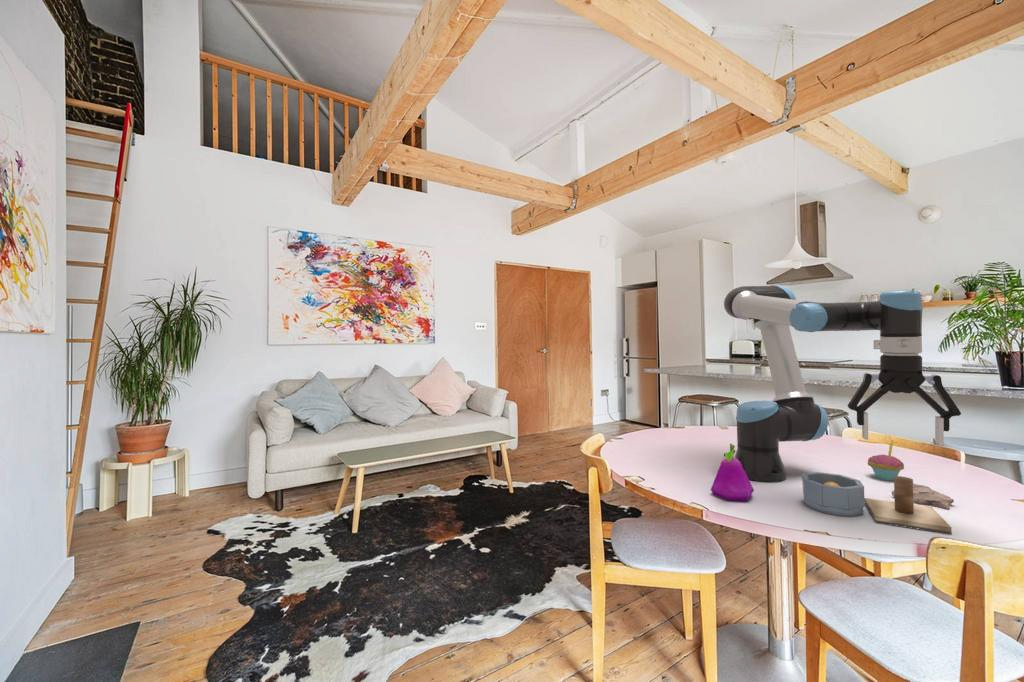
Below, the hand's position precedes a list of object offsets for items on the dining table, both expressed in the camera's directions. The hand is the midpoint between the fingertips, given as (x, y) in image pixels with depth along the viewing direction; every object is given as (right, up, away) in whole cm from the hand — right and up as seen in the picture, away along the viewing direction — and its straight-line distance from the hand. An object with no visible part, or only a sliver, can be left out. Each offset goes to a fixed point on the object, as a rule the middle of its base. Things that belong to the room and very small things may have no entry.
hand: (901, 441), depth 103 cm
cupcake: (+21, -18, +28) cm, 39 cm away
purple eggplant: (-33, -20, +17) cm, 41 cm away
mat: (0, -19, 0) cm, 19 cm away
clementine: (-11, -17, +7) cm, 21 cm away
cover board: (0, -18, 0) cm, 18 cm away
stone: (+15, -19, +11) cm, 27 cm away
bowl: (-11, -19, +7) cm, 23 cm away
